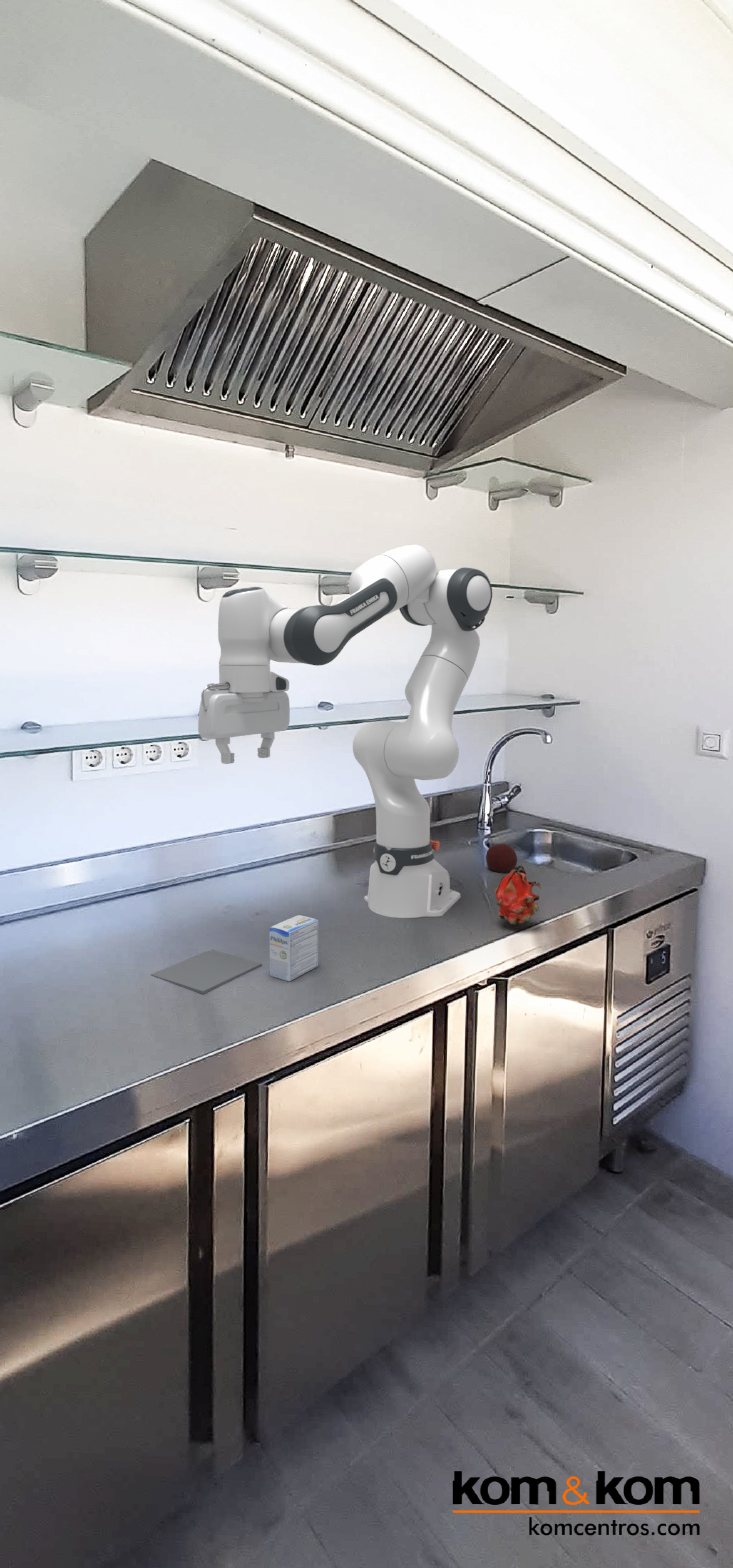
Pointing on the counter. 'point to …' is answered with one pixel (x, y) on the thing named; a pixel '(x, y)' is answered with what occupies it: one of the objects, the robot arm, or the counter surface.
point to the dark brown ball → (501, 858)
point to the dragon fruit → (516, 897)
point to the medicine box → (293, 947)
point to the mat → (207, 971)
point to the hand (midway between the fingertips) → (246, 760)
